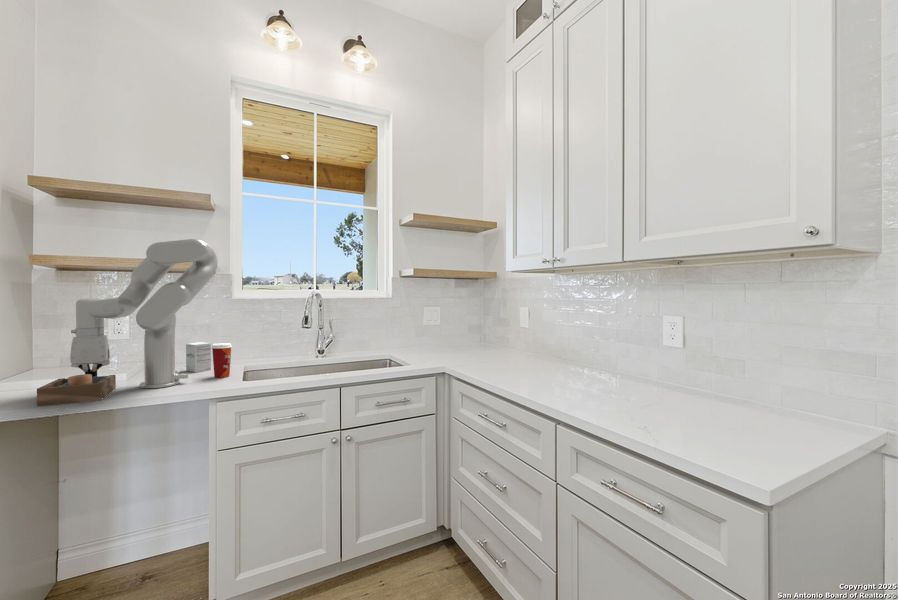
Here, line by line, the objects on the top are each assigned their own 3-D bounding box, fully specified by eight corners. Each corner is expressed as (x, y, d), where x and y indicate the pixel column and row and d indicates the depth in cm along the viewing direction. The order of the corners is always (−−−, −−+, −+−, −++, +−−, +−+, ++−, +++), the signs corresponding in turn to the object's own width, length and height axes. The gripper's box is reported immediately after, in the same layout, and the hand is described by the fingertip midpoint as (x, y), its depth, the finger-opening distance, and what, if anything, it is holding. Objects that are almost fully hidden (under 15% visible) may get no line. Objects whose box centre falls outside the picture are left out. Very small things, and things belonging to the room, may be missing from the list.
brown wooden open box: (59, 394, 137) (58, 378, 136) (115, 389, 144) (115, 374, 143) (37, 406, 123) (36, 388, 123) (100, 400, 130) (100, 383, 130)
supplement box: (185, 371, 176) (185, 343, 176) (202, 368, 183) (202, 341, 182) (194, 372, 173) (194, 344, 172) (211, 369, 179) (211, 342, 179)
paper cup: (231, 377, 164) (231, 344, 164) (210, 379, 161) (210, 345, 161) (232, 373, 171) (232, 342, 171) (212, 375, 168) (212, 343, 168)
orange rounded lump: (92, 390, 138) (91, 373, 138) (92, 393, 134) (91, 376, 134) (69, 393, 134) (68, 376, 134) (68, 396, 130) (67, 379, 130)
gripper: (58, 334, 135) (59, 386, 136) (113, 332, 142) (114, 382, 143) (67, 332, 142) (68, 381, 143) (119, 330, 149) (120, 377, 149)
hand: (91, 381), depth 143 cm, fingers closed
